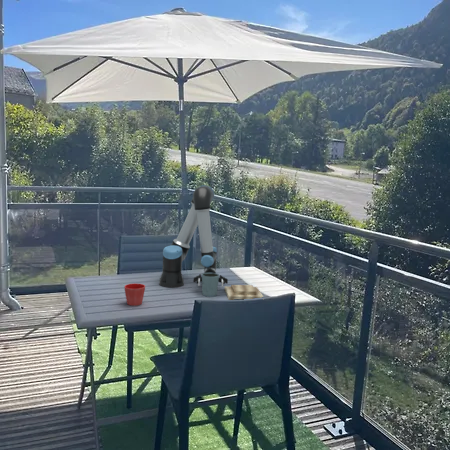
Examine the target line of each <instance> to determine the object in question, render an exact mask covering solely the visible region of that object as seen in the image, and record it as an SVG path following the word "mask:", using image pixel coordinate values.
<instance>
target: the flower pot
mask: <svg viewBox="0 0 450 450" xmlns="http://www.w3.org/2000/svg"><path fill="white" fill-rule="evenodd" d="M145 290H146V285H145V284H143V283H128V284H125V285H124V295H125V299H126V303H127V305H128V306H135V307H136V306H140V305H142V304H143V300H144V295H145Z"/></svg>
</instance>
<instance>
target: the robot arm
mask: <svg viewBox="0 0 450 450" xmlns="http://www.w3.org/2000/svg"><path fill="white" fill-rule="evenodd" d="M214 199H215V192H214V190H213V187H211V186H209V185H204V184H203V185H200V186H198V187H196V188H195V190H194V191H193V194H192V199H191V202H190V203H191V206H190V209H189V211H188V214H187V216H186V218H185V219H184V220H185V221H184V222H183V224H182V226H181V228H180V231H179V233H178V236H177V237H176V238H174V239H173V240H172V243H171V244H170V245H167V246H165V247H164V248H163V250H162V271H161V275H160V277H159V283H158V284H159V286H161V287H164V288H179V287H183V286H184V283H185V282H184V276H183V273H182V265H183V264H182V263H183V261H185V260H186V258H187V256H188V252H189V249H190V248H191V246H190V243H191V240H192V238H193V236H194V234H195V232H196V230H197V228H198V236H199V244H200V255H201V259H200V263H201V265H202V266H203V267H204V268H203V273H217V253H218V248H217V247H215V246H213V245H214V244H213V237H212V236H213V235H212V226H211V218H210V210H211V208H212V207H211V203H212V202H213V200H214ZM193 283H195V284H197V286H198V287H200V285H201V283H202V274H199V275H196V276H194V277H193ZM218 283H220V285H221V287H222V288H224V285H225V284H228V278H227V277H225V276H223V275H221V274H219V280H218Z"/></svg>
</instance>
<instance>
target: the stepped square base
mask: <svg viewBox="0 0 450 450" xmlns="http://www.w3.org/2000/svg"><path fill="white" fill-rule="evenodd" d="M223 288H224V292H225V295H226V296H227V299H228V300H229V301H235V300H234V299H253V298H262V297H264V295H263V294H262V292H261V290H259V288H258V287H257V286H254V285H251V284H231V285H229V286H224V287H223Z"/></svg>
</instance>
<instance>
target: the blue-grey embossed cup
mask: <svg viewBox="0 0 450 450" xmlns="http://www.w3.org/2000/svg"><path fill="white" fill-rule="evenodd" d="M201 275H202V281H201V285H202V287H201V289H202V290H201V291H202V292H201V294H202V296H205V297H207V298H208V297H209V298H211V297H216V296H217V295H218V289H219V287H218V286H219V282H218V280H219V276H220V274H219V273H217V272H216V273H204V272H203V273H202V274H201Z"/></svg>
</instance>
